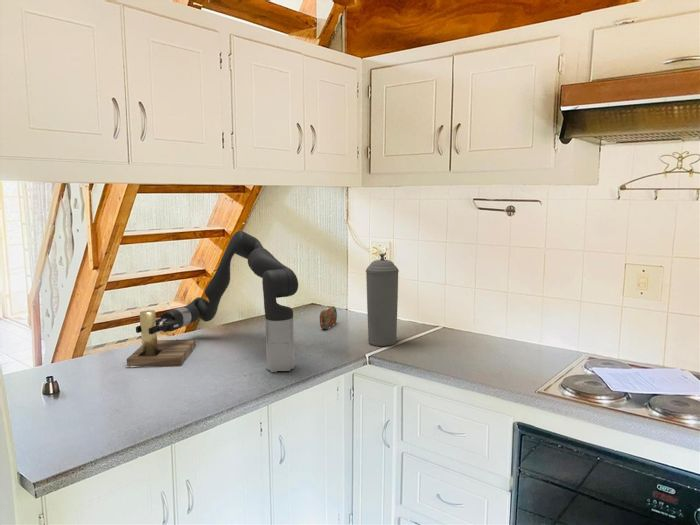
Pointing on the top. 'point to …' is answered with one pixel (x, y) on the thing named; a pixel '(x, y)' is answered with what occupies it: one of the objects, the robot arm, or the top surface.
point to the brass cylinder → (148, 339)
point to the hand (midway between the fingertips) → (143, 330)
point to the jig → (164, 354)
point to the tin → (328, 317)
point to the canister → (382, 302)
